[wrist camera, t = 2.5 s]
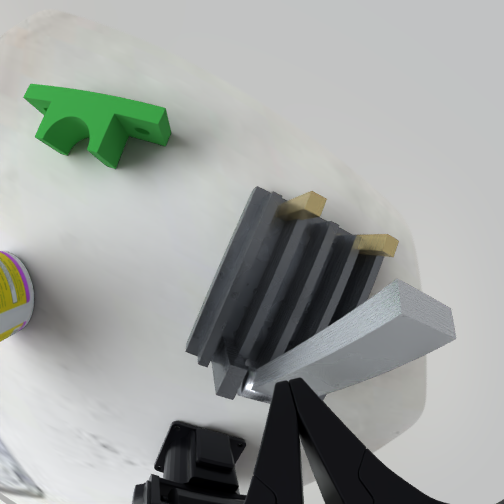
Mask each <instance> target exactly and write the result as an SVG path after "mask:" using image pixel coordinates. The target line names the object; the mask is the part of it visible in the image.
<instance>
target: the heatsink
mask: <svg viewBox="0 0 504 504" xmlns="http://www.w3.org/2000/svg"><path fill="white" fill-rule="evenodd" d="M326 200H327V199H326V198H324V197H322V196H321V195H319V194H317V193H315V192H313V191H310V192H308V193H305V194H303V195H301V196H298V197H296V198H293V199H291V200H289V201H287V200H285V199H283V198H282V196H281V195H279V194H277V193H275V192H271V193H270V192H268V191H266V190H264V189H262V188H260V187H258V186H257V187H256V188H255V189H253V191H252V193H251V195H250V198H249V200H248V202H247V204H246V206H245V209H244V211H243V213H242V215H241V218H240V220H239V222H238V224H237V227H236V229H235V231H234V233H233V236H232V238H231V240H230V242H229V245H228V247H227V249H226V252H225V254H224V256H223V259H222V261H221V263H220V265H219V268H218V270H217V272H216V275H215V277H214V279H213V282H212V284H211V286H210V289H209V291H208V293H207V296H206V298H205V301H204V303H203V305H202V308H201V310H200V312H199V315H198V317H197V320H196V322H195V324H194V327H193V329H192V332H191V334H190V336H189V339H188V341H187V344H186V352H188V353H190V354H193V355H196V356H198V364H199V365H202V366H205V367H208V365H209V363H210V361H212V368H213V376H214V383H215V391H216V395H218V396H222V397H225V398H228V399H232V400H233V399H234V397H235V395H236V393H237V391H238V389H239V387H240V385H241V383H242V381H243V379H244V377H245V375H246V373H247V371H248V370H247V367H246V366H249V367H252V368H256V369H258V368H260V367H262V366H263V365H265V364H267V363H269V362H270V361H272V360H274V359H276V358H278V357H279V356H281V355H283V354H284V353H286V352H288V351H290V350H291V349H293V348H295V347H296V346H298V345H300V344H301V343H303V342H305V341H306V340H308V339H309V338H311V337H313V336H314V335H316V334H317V333H319V332H321V331H322V330H324V329H325V328H327V327H328V326H330V325H332V324H333V323H335V322H336V321H338V320H339V319H341V318H342V317H344V316H345V315H347V314H348V313H350V312H351V311H353V310H354V309H355V308H357V307H358V306H360V305H361V304H363V303H364V302H366V301H367V299H368V297H369V294H370V292H371V290H372V287H373V285H374V282H375V279H376V277H377V274H378V272H379V269H380V266H381V264H382V261H383V258H384V256H386V257H394V254H395V251H396V248H397V245H398V242H399V241H398V240H396V239H395V238H393V237H392V236H390V235H388V234H373V235H352V234H350V233H348V232H347V231H345V230H343V229H341V228H339V225H338V224H336V223H334V222H332V221H326V220H324V219H322V218H320V215H321V213H322V210H323V208H324V205H325V203H326ZM325 396H326V394H324V395H321V396H319V397H320V398H321V400H322V401H323V400H324V398H325Z"/></svg>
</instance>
